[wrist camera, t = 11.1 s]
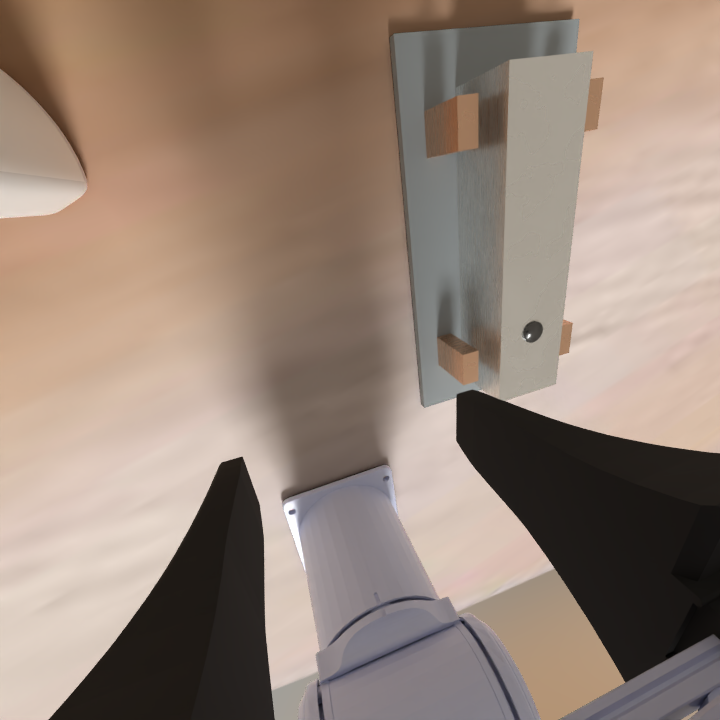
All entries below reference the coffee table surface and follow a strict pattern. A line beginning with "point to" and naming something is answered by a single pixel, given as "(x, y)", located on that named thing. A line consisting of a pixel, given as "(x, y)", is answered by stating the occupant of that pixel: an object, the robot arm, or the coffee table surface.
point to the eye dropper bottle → (34, 157)
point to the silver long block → (520, 217)
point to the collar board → (453, 174)
